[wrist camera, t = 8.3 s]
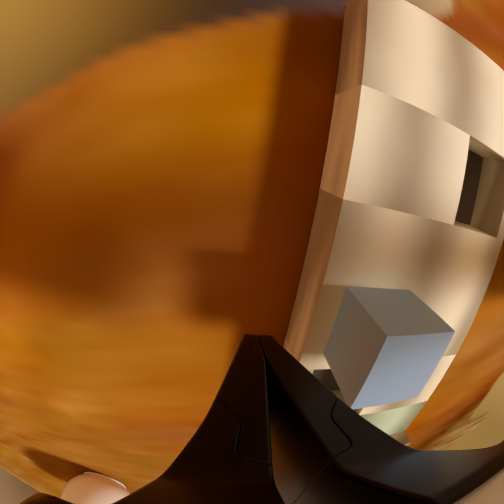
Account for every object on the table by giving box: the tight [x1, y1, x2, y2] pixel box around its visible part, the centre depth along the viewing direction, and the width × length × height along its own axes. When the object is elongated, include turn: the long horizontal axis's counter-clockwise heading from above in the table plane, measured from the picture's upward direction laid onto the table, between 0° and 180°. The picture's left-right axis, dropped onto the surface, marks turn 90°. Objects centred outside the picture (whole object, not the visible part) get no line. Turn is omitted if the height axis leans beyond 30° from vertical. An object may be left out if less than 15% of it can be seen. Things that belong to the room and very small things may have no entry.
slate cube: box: [323, 286, 455, 409], centre depth 12 cm, size 4×4×4 cm
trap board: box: [283, 0, 504, 446], centre depth 14 cm, size 13×30×4 cm, turn 171°
